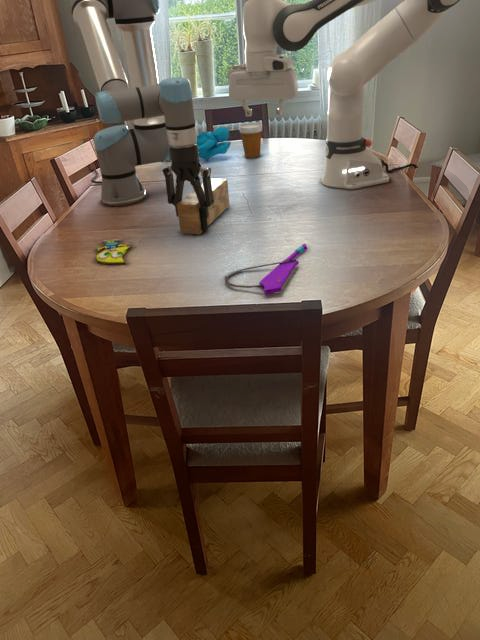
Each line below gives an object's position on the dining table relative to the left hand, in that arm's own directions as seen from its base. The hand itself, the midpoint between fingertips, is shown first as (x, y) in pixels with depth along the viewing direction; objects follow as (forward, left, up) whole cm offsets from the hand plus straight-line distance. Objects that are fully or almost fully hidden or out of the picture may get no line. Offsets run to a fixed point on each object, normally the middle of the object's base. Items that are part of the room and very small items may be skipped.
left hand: (194, 228), depth 137 cm
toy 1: (-5, -24, -1) cm, 24 cm away
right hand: (-4, +31, +24) cm, 40 cm away
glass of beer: (-49, +63, -1) cm, 80 cm away
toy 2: (-66, +46, -1) cm, 80 cm away
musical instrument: (+34, -2, -1) cm, 35 cm away
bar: (-4, +7, 0) cm, 8 cm away
